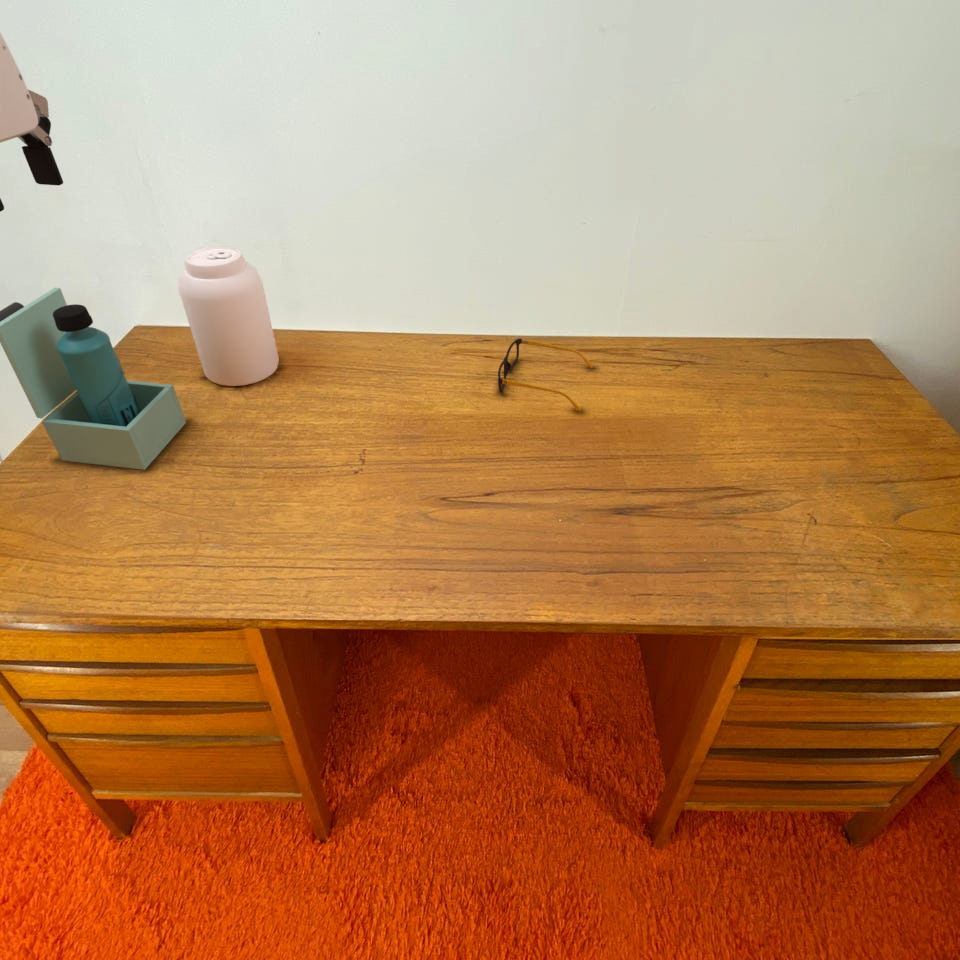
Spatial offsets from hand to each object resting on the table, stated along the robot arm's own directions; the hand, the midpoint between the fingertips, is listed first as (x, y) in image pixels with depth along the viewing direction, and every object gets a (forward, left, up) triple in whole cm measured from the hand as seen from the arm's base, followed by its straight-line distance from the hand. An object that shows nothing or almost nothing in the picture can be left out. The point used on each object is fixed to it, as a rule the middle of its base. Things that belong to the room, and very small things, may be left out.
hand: (21, 196), depth 72 cm
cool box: (0, 0, -34) cm, 34 cm away
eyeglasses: (+62, -21, -34) cm, 74 cm away
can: (+21, +11, -34) cm, 42 cm away
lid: (-4, +4, -20) cm, 21 cm away
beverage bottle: (0, 0, -34) cm, 34 cm away
